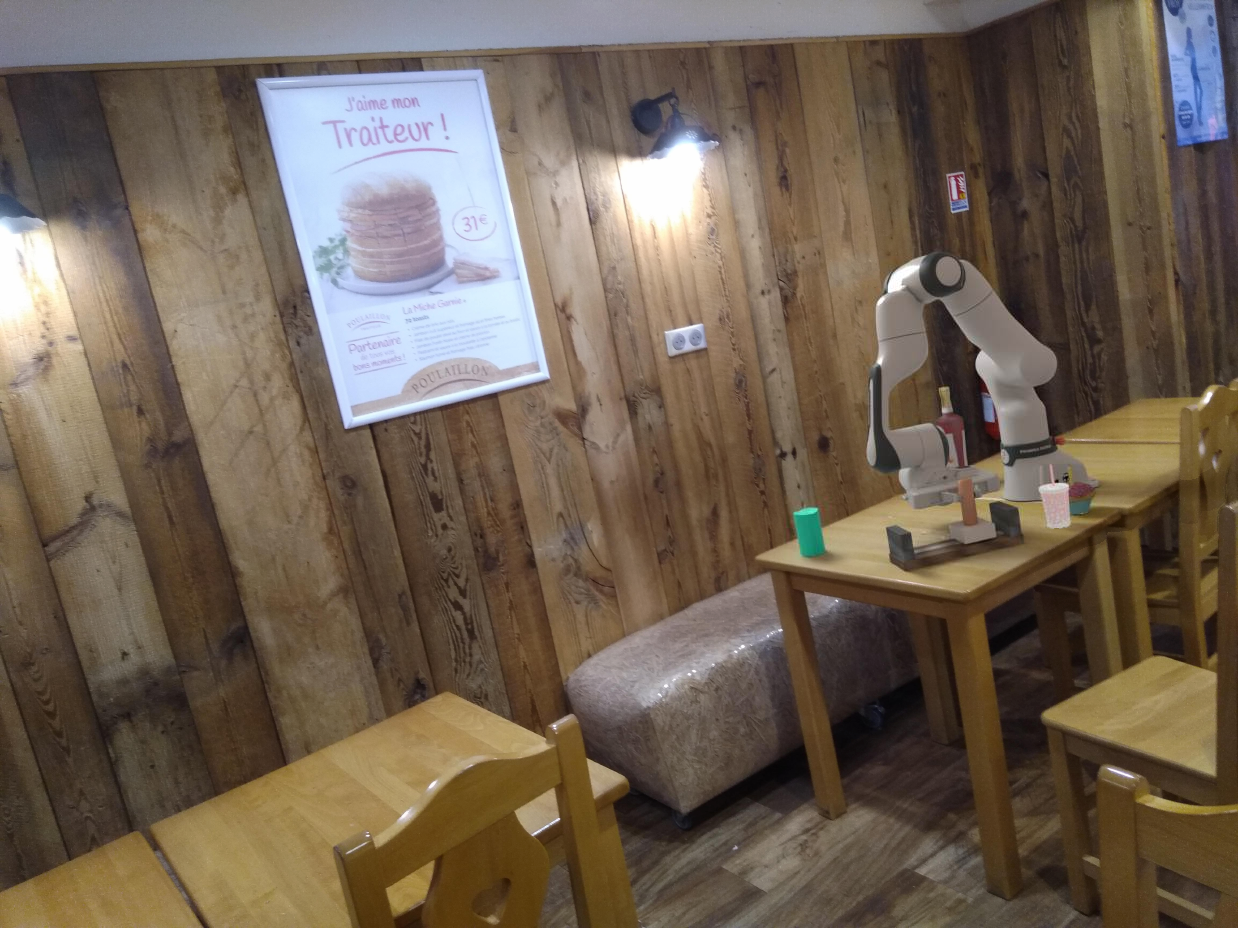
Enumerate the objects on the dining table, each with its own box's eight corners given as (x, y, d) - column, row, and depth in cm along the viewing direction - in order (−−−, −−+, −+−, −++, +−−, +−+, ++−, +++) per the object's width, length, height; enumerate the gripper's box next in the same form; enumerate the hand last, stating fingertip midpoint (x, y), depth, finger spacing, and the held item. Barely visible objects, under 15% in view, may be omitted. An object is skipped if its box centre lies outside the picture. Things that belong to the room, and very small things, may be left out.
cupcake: (1096, 516, 201) (1089, 464, 199) (1054, 518, 206) (1047, 468, 204) (1099, 505, 208) (1092, 455, 206) (1058, 508, 213) (1051, 459, 211)
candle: (823, 546, 222) (815, 500, 220) (827, 553, 216) (818, 505, 214) (799, 551, 222) (791, 504, 220) (802, 557, 216) (793, 510, 215)
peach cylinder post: (980, 529, 200) (971, 473, 198) (996, 536, 193) (987, 478, 191) (950, 536, 200) (941, 480, 198) (965, 544, 193) (956, 485, 191)
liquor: (978, 484, 249) (963, 385, 244) (954, 490, 247) (939, 391, 243) (962, 480, 256) (948, 384, 252) (939, 486, 255) (924, 390, 250)
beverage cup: (1059, 519, 204) (1051, 460, 202) (1080, 523, 198) (1072, 462, 196) (1037, 526, 202) (1029, 466, 200) (1058, 531, 197) (1050, 469, 194)
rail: (1005, 534, 202) (1000, 500, 200) (1024, 542, 194) (1019, 507, 192) (890, 561, 200) (884, 527, 199) (904, 571, 192) (898, 535, 191)
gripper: (895, 482, 207) (920, 492, 193) (979, 463, 208) (1010, 472, 194) (899, 509, 208) (925, 521, 194) (983, 489, 209) (1015, 500, 195)
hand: (968, 496), depth 194 cm, fingers closed on peach cylinder post, 3 cm apart
